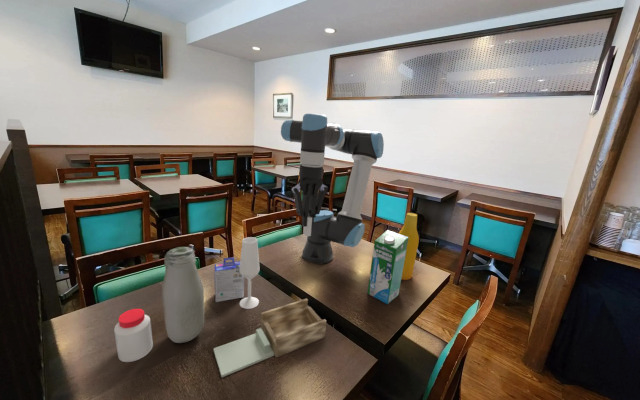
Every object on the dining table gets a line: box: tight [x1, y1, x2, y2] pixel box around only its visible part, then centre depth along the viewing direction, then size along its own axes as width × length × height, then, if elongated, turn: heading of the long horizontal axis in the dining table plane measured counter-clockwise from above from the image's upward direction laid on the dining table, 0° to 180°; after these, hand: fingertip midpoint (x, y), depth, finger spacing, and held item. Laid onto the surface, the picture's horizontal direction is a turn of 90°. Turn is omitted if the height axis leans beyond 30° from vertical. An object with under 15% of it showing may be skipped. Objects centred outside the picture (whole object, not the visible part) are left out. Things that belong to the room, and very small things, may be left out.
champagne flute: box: [239, 236, 261, 310], centre depth 91 cm, size 7×7×24 cm
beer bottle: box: [398, 212, 420, 281], centre depth 117 cm, size 9×9×29 cm
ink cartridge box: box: [214, 256, 245, 303], centre depth 95 cm, size 10×6×14 cm, turn 113°
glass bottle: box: [161, 246, 205, 344], centre depth 73 cm, size 10×10×28 cm
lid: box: [212, 327, 275, 378], centre depth 73 cm, size 14×9×4 cm
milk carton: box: [367, 229, 409, 305], centre depth 102 cm, size 9×9×25 cm
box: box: [260, 297, 327, 358], centre depth 81 cm, size 16×12×6 cm
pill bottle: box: [113, 308, 154, 363], centre depth 70 cm, size 8×8×11 cm
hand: (306, 234), depth 90 cm, fingers closed
